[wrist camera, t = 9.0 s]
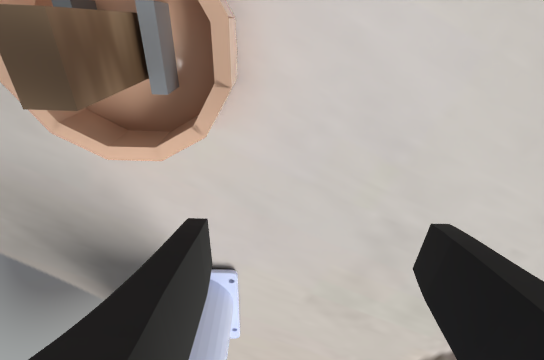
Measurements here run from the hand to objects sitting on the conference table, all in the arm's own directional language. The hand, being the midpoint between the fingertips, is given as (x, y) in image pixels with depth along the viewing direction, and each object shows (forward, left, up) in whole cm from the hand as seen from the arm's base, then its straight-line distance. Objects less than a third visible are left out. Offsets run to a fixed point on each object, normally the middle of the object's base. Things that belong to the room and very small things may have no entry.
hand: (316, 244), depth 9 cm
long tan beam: (+5, +9, -9) cm, 14 cm away
